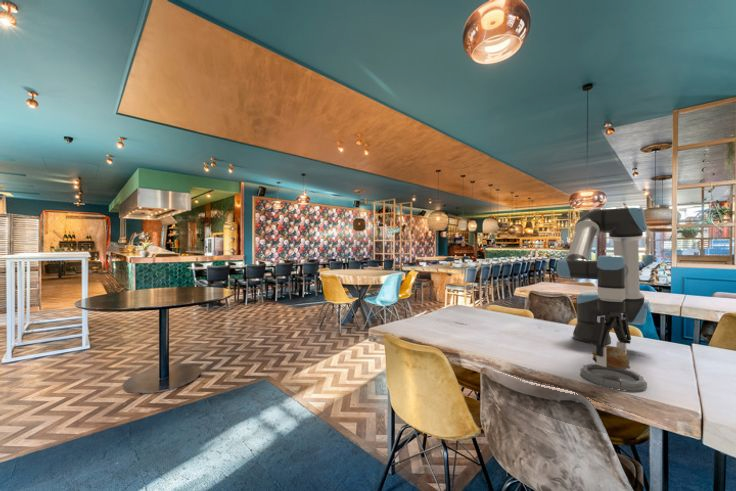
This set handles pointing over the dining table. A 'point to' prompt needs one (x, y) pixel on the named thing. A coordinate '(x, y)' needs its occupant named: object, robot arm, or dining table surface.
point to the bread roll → (615, 358)
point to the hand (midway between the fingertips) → (611, 363)
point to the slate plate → (613, 377)
